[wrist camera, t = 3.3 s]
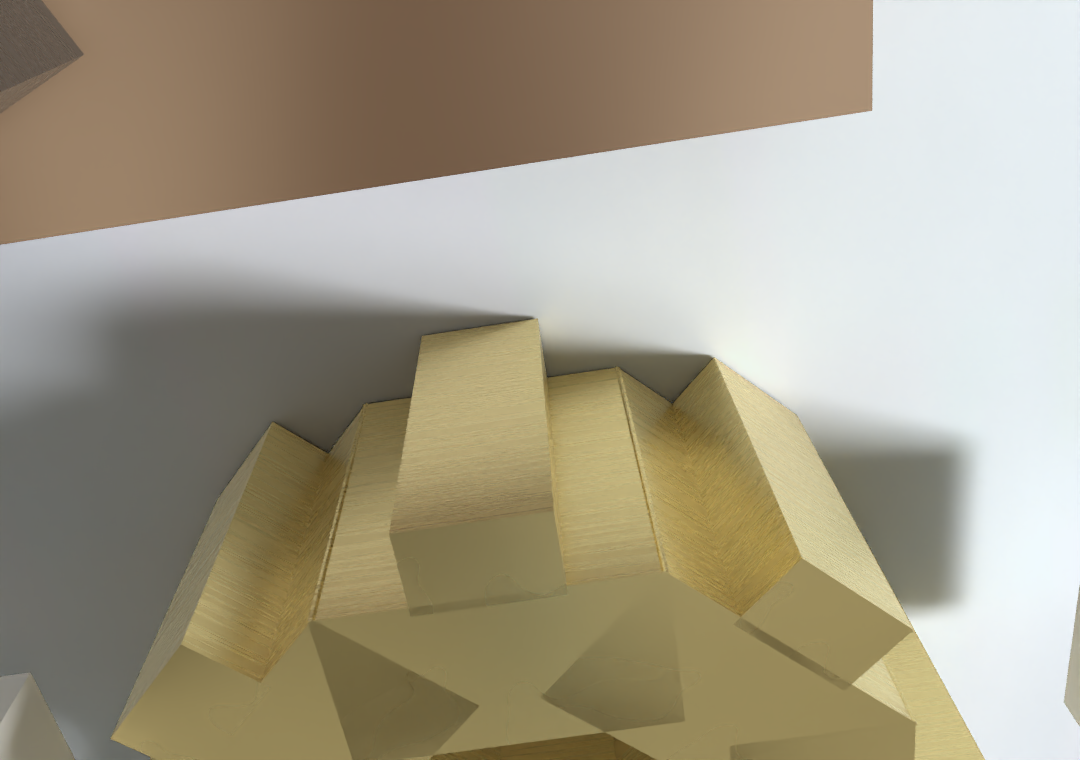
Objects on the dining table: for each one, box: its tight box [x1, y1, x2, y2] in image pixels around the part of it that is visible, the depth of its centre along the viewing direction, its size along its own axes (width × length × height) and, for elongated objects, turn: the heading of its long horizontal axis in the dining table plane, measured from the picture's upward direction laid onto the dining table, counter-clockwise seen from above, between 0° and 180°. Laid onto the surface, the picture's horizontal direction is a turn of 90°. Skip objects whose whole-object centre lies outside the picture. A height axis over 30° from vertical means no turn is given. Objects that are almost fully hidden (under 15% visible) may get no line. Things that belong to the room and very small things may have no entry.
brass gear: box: [110, 319, 985, 760], centre depth 12 cm, size 9×9×4 cm
